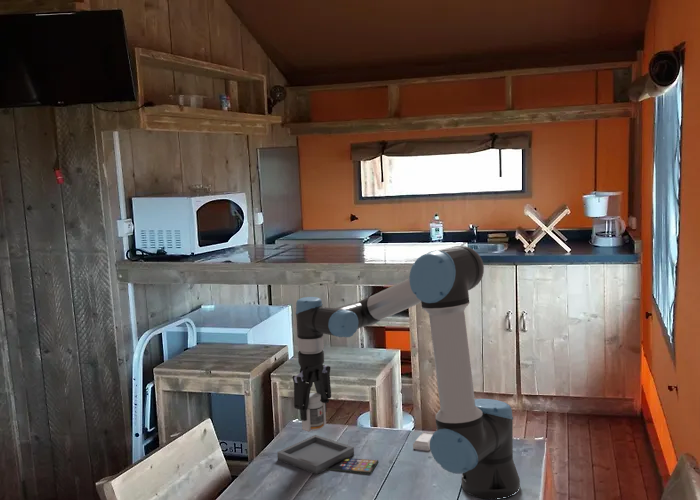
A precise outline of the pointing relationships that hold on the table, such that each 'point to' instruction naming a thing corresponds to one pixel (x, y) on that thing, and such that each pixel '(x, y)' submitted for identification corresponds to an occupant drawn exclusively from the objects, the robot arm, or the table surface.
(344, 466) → the smartphone
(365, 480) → the table surface
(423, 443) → the soap bar
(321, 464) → the slate tray
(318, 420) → the pill bottle
